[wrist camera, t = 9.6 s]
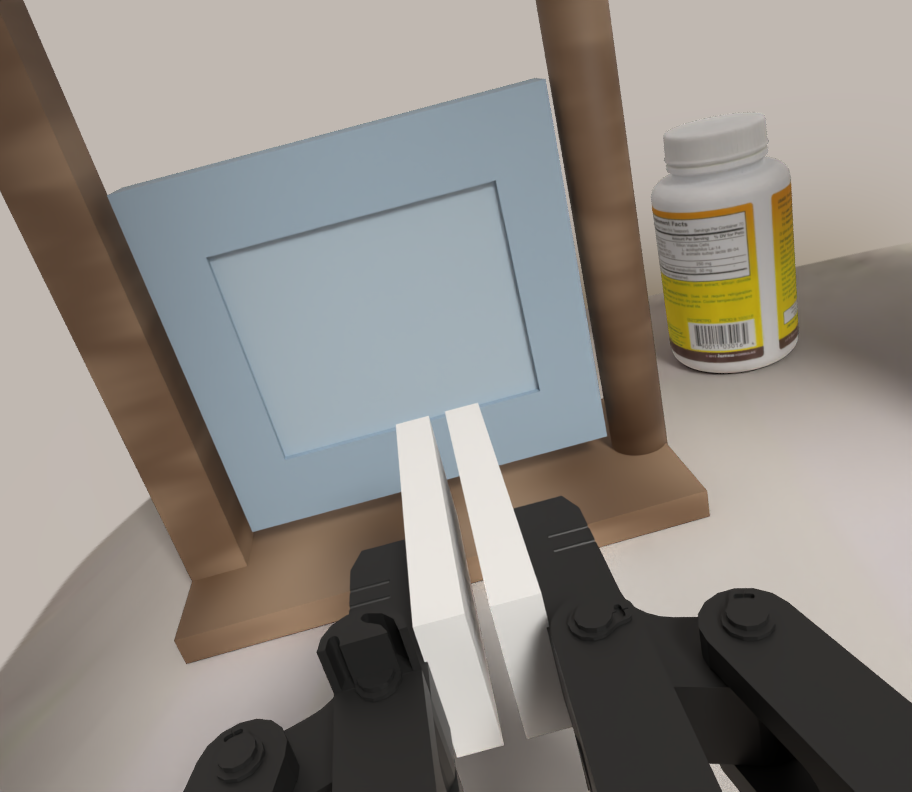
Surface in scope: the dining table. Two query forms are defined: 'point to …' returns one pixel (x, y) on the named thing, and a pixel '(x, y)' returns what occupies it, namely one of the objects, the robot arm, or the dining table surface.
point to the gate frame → (182, 425)
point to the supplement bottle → (726, 245)
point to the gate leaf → (373, 297)
